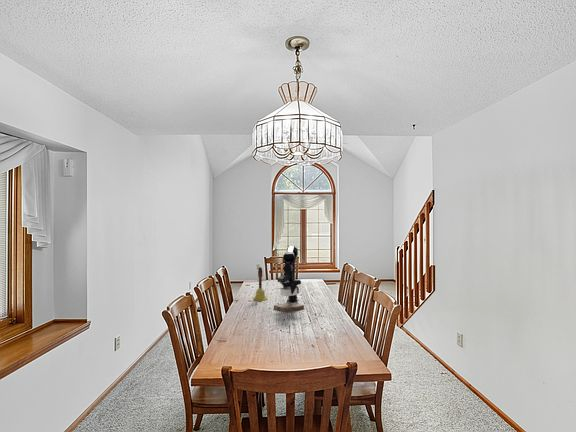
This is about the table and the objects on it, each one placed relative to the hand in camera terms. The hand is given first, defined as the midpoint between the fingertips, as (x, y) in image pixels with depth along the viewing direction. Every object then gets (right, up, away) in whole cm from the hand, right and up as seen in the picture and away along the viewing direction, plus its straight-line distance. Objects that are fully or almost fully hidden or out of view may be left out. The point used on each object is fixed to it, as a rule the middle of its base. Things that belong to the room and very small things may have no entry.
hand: (289, 293), depth 274 cm
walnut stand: (0, -11, 0) cm, 11 cm away
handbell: (-22, -11, +32) cm, 41 cm away
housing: (0, -1, 0) cm, 1 cm away
